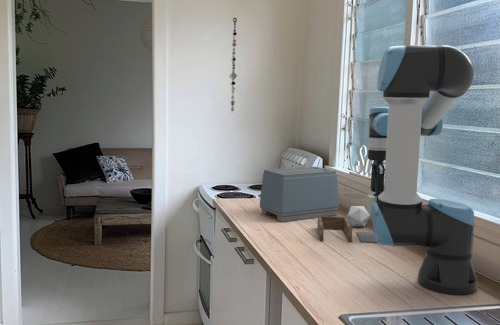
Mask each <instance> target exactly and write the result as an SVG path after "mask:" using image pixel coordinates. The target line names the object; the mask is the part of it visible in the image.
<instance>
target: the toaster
mask: <svg viewBox="0 0 500 325" xmlns="http://www.w3.org/2000/svg"><path fill="white" fill-rule="evenodd" d="M339 198H340V197H339V185H338V174H337V170H335V169H329V168H324V167H318V166H302V167H287V168H286V167H285V168H273V169H272V168H271V169H264V170H263V172H262V182H261V191H260V198H259V199H260V200H259V208H260V209H261V214H262V215H263V216H267V215H266V214H269V215H275V216H277V220H278V221H279V222H280V223H286V222H287V223H289V222H296V221H303V220H311V219H318V216H333V217H336V216H337V215H338V210H339V207H340V201H339V200H340V199H339Z"/></svg>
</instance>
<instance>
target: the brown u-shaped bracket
mask: <svg viewBox="0 0 500 325" xmlns="http://www.w3.org/2000/svg"><path fill="white" fill-rule="evenodd" d="M324 230H338V231H339V230H341V231H342V230H343V232H344V234H345V237H346V240H347V241H348V243H353V242H352V241H353V227H352V226H351V224H350V222H349V221H348V219H347V216H318V218H317V231H318V232H317V233H318V237H319V238H318V239H319V241H320V242H324V238H325V237H324V235H325V231H324Z"/></svg>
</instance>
